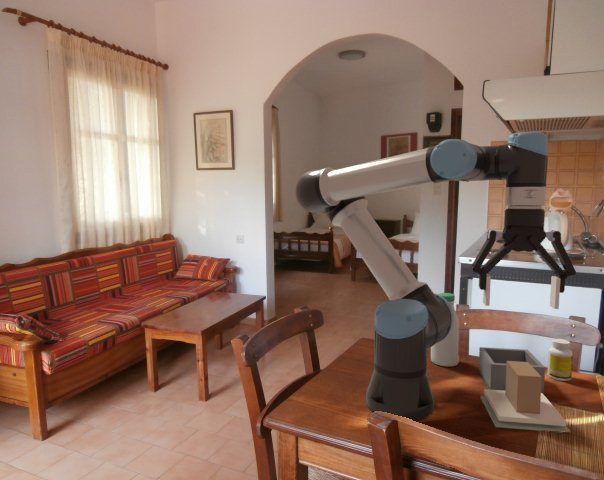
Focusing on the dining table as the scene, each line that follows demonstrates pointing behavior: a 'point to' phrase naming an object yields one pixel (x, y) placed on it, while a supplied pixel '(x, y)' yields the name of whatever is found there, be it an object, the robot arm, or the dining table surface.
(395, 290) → the robot arm
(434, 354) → the milk bottle
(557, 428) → the mat
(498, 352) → the box
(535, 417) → the lid
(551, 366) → the supplement bottle
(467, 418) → the dining table surface
